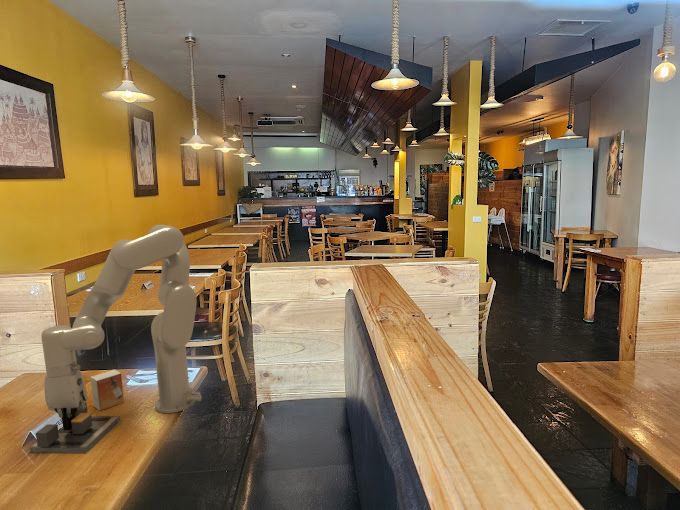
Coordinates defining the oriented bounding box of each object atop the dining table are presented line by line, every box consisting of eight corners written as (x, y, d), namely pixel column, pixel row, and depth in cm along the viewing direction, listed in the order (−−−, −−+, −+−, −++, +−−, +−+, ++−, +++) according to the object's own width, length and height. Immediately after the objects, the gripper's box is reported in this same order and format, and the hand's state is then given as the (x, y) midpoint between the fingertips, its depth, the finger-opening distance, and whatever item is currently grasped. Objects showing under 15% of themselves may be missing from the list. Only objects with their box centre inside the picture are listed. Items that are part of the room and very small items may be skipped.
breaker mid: (92, 425, 130) (90, 412, 130) (82, 433, 126) (81, 420, 125) (82, 425, 131) (81, 412, 130) (72, 433, 126) (71, 420, 126)
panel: (120, 420, 137) (119, 415, 136) (85, 453, 120) (85, 447, 120) (71, 420, 138) (70, 415, 137) (30, 452, 121) (29, 447, 121)
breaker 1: (59, 437, 124) (57, 424, 124) (47, 446, 120) (46, 433, 119) (49, 437, 125) (47, 424, 124) (37, 446, 120) (35, 433, 120)
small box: (99, 411, 143) (95, 381, 141) (93, 406, 147) (89, 376, 145) (124, 402, 149) (121, 373, 147) (118, 397, 152) (115, 368, 151)
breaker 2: (87, 414, 137) (86, 402, 137) (78, 421, 133) (77, 409, 132) (78, 414, 137) (77, 402, 137) (69, 421, 133) (67, 409, 132)
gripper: (94, 363, 129) (101, 421, 132) (46, 363, 130) (54, 421, 133) (78, 374, 121) (86, 435, 124) (27, 374, 123) (36, 435, 125)
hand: (69, 427), depth 129 cm, fingers closed
